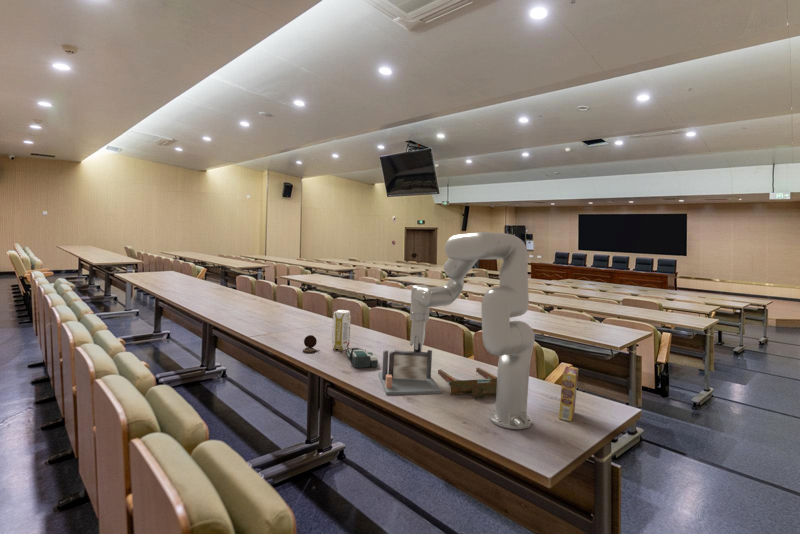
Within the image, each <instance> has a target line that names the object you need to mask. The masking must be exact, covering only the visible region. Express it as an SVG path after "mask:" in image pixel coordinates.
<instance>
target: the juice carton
mask: <svg viewBox="0 0 800 534" xmlns="http://www.w3.org/2000/svg"><path fill="white" fill-rule="evenodd" d="M351 320H352V319H351V311H350V310H346V309H338V310H336V311H333V316H332V332H331V333H332V336H331V337H332V338H331V339H332V341H331V345H332V346H331V347H332V350H333V349H338V350H337V351H341V350H345V349H346V348H347V349H349V347H350V342H351V341H350V340H351ZM347 349H346V350H347ZM346 350H345V351H346Z"/></svg>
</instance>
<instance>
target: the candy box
mask: <svg viewBox="0 0 800 534" xmlns="http://www.w3.org/2000/svg"><path fill="white" fill-rule="evenodd" d="M578 377H579V368H577V367H574V366H573V367H572V366H565V368H564V371H563V373H562V381H561V391H560V399H559V400H560V402H559V411H558V419H560V420H562V421H566V422H572V421H573V417H574V415H575V412H576V411H575V409H576V399H577V388H578Z"/></svg>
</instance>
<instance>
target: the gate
mask: <svg viewBox="0 0 800 534" xmlns="http://www.w3.org/2000/svg"><path fill="white" fill-rule="evenodd" d="M427 357H428V351H427V352H426V351H421V352H415V351H414V350H413V351H412V350H394V351H388V372H389V375H392V378H398V379H413V380H426V378H427Z"/></svg>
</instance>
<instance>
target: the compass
mask: <svg viewBox="0 0 800 534" xmlns="http://www.w3.org/2000/svg"><path fill="white" fill-rule="evenodd" d="M303 343H304V346H305V348H303V349H302V353H304V352H306V353H305V354H313V353H312V352H314V353H316V352H317V351H318V352H319V351H320V349H315V348H314V347H315V346H316V345H317V343H318V341H317V338H316V336H315V335H313V334H312V335H311V334H310V335H309V334H308V335H307V336H306V337H305V338H304V339H303ZM315 351H316V352H315Z"/></svg>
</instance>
